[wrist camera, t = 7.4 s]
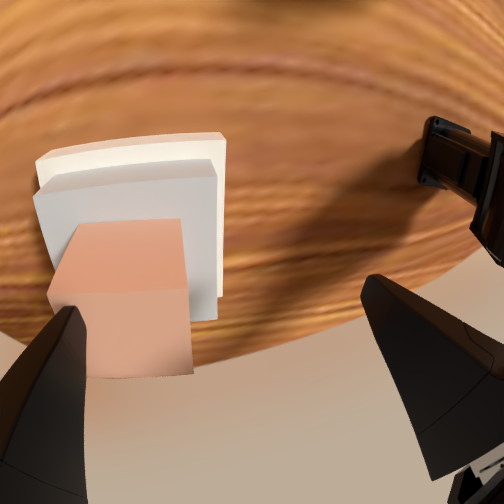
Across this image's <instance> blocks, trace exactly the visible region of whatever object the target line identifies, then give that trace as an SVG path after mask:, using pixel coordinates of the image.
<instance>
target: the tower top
mask: <svg viewBox="0 0 504 504" xmlns="http://www.w3.org/2000/svg"><path fill="white" fill-rule="evenodd" d="M33 200H34V204H35V208H36V212H37V216H38V219H39V223H40V226H41V230H42V233H43V236H44V240H45V243H46V246H47V249H48V252H49V255H50V258H51V261H52V263H53V266H54V269H55V272H56V270H57V268H58V266H59V263H60V261H61V259H62V257H63V255H64V253H65V251H66V249H67V247H68V245H69V243H70V241H71V239H72V237H73V235H74V233H75V231H76V229H77V227H78V225H79V224H86V223H100V222H115V221H132V220H151V219H174V218H181V227H182V238H183V247H184V256H185V265H186V273H187V281H188V291H189V313H190V322H196V321H205V320H215V319H218V318H217V174H216V172H215V169H214V167H213V164H212V162H211V160H210V159H189V160H173V161H159V162H147V163H137V164H127V165H118V166H110V167H103V168H95V169H88V170H82V171H75V172H69V173H64V174H58V175H54V176H53V177H52V178H51V179H50V180H49V181H48V182H47V183H46V184H45V185H44V186H43V187H42V188H41V189H40V190H39V191H38V192H37V193H36V194H35V195H34V196H33Z"/></svg>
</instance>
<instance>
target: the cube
mask: <svg viewBox="0 0 504 504" xmlns="http://www.w3.org/2000/svg"><path fill="white" fill-rule="evenodd" d="M46 295H47V297H48V300H49V302H50V305H51V307H52V309H53V312H54V314H56V313H57V312H58V311H59V310H60V309H61V308H62V307H63V306H66V305H75V306H77V307H78V309H79V311H80V313H81V316H82V318H83V320H84V322H85V324H86V328H87V346H86V376H87V377H92V378H132V377H158V376H174V375H187V374H194V371H193V359H192V345H191V330H190V313H189V291H188V281H187V273H186V265H185V256H184V247H183V238H182V227H181V218H174V219H151V220H132V221H115V222H100V223H86V224H79V225H78V227H77V229H76V231H75V233H74V235H73V237H72V239H71V241H70V243H69V245H68V247H67V249H66V251H65V253H64V255H63V257H62V259H61V261H60V263H59V266H58V268H57V270H56V272H55V275H54V277H53V279H52V282H51V284H50V286H49V289H48V291H47V294H46Z"/></svg>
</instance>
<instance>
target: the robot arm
mask: <svg viewBox="0 0 504 504" xmlns="http://www.w3.org/2000/svg"><path fill="white" fill-rule="evenodd" d="M491 137H492V138H491V143H489V142H487V141H485V140H483V139H480V138H478V137H476V136H474V135H471V131H470V130H469V129H466V128H464V127H462V126H460V125H457V124H455V123H452V122H450V121H448V120H445V119H443V118H440V117H437V116H432V118H431V121H430V127H429V132H428V137H427V142H426V147H425V151H424V156H423V160H422V164H421V168H420V172H419V176H418V182H419V183H420V184H421V185H425V186H435V187H443V188H448V189H450V190H451V191H453V192H454V193H456V194H457V195H459V196H460V197H462V198H463V199H465V200H466V201H468V202H469V203H471V204H472V205H474V206H475V207H476V211H475V214H474V217H473V221H472V222H471V224H470V227H469V229H470V230H471V231H472V233H473V234H474V235H475V236H476V238H477V239H478V240H479V241H480V243H481V244H482V245H483V247H484V248H485V249H486V250H487V252H488V253H489V254H490V256H491V257H492V258H493V260H494V261H495V263H496V264H497V265H499V266H501V267H503V268H504V134H503V133H499V132H496V131H491ZM360 298H361V302H362V305H363V307H364V310H365V313H366V315H367V318H368V321H369V324H370V326H371V329H372V331H373V335H374V337H375V340H376V342H377V344H378V346H379V348H380V351H381V353H382V355H383V357H384V359H385V362H386V364H387V366H388V368H389V370H390V373H391V375H392V378H393V380H394V382H395V384H396V387H397V389H398V392H399V394H400V396H401V399H402V401H403V404H404V406H405V408H406V411H407V414H408V416H409V418H410V421H411V424H412V427H413V429H414V432H415V434H416V437H417V440H418V443H419V446H420V448H421V451H422V454H423V457H424V460H425V463H426V466H427V469H428V472H429V475H430V478H431V480H432V481H434V480H437V479H439V478H441V477H443V476H445V475H448V474H450V473H452V472H454V471H456V470H458V469H460V468H462V467H464V466H465V465H467V464H468V465H467V466H466V467H464V468H463V469H462V470H461V471H460V472H458V473H457V474H456V475H455V477H454V481H453V484H452V488H451V491H450V494H449V498H448V501H447V503H448V504H504V344H502V343H500V342H498V341H496V340H494V339H492V338H490V337H489V336H487V335H485V334H483V333H481V332H480V331H478V330H476V329H475V328H473V327H471V326H470V325H468V324H466V323H465V322H462V321H461V320H460V319H458V318H456V317H455V316H453V315H451V314H449V313H448V312H446V311H444V310H443V309H441V308H439V307H437V306H435V305H434V304H432V303H431V302H429V301H427V300H425V299H424V298H422V297H420V296H418V295H417V294H415V293H413V292H411V291H410V290H408V289H406V288H404V287H402V286H401V285H399V284H397V283H395V282H393V281H392V280H390V279H388V278H386V277H384V276H382V275H381V274H373V275H369V276H368V277H367V278H366V281H365V283H364V286H363V289H362V291H361V295H360ZM86 346H87V328H86V324H85V322H84V320H83V318H82V316H81V313H80V311H79V309H78V307H77V306H75V305H66V306H63V307H62V308H61V309H60V310H59V311H58V312H57V313H56V314H55V316H54V317H53V318H52V319H51V320H50V321H49V322H48V323H47V324H46V326H45V327H44V328H43V329H42V330H41V331H40V332H39V334H38V335H37V336H36V337H35V338H34V339H33V341H32V342H31V343H30V344H29V345H28V346H27V348H26V349H25V350H24V351H23V353H22V354H21V355H20V356H19V357H18V359H17V360H16V361H15V362H14V364H13V365H12V366H11V368H10V369H9V370H8V372H7V373H6V374H5V375H4V377H3V378H2V380H1V381H0V504H88V499H87V490H86V479H85V463H84V406H85V390H86Z"/></svg>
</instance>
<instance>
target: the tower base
mask: <svg viewBox="0 0 504 504" xmlns="http://www.w3.org/2000/svg"><path fill="white" fill-rule="evenodd" d="M225 157H226V139H225V138H224V137H223V135H222V134H221V133H220V132H210V133H182V134H165V135H152V136H141V137H132V138H123V139H115V140H107V141H100V142H94V143H87V144H81V145H76V146H70V147H65V148H60V149H55V150H51V151H49V152H48V153H46V154H45V155H44V156H42V157H41V158H39V159H38V160H37V161H35V163H36V169H37V174H38V180H39V185H40V189H41V188H42V187H43V186H44V185H45V184H46V183H47V182H48V181H49V180H50V179H51V178H52V177H53V176H54V175H58V174H64V173H69V172H75V171H82V170H88V169H95V168H103V167H110V166H118V165H127V164H137V163H147V162H159V161H173V160H189V159H210V160H211V162H212V164H213V167H214V169H215V172H216V174H217V297H223V221H224V185H225Z"/></svg>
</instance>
